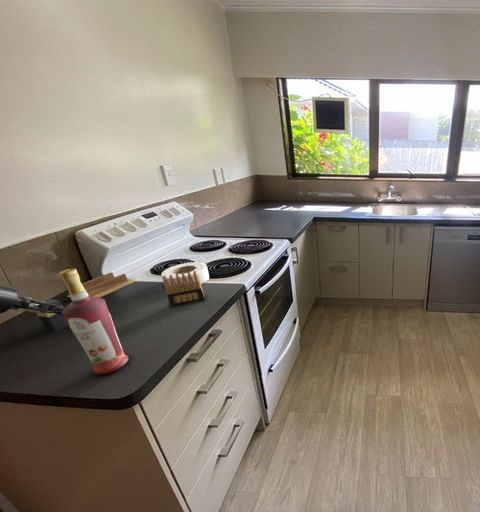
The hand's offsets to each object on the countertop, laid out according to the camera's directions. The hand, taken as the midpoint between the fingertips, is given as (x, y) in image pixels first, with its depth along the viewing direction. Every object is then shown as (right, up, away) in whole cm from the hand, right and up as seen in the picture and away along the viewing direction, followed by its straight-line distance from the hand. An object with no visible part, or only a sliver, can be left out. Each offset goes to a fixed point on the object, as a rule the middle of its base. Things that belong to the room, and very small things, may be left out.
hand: (56, 309), depth 90 cm
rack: (-8, +4, +23) cm, 25 cm away
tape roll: (+21, +6, +30) cm, 37 cm away
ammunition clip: (+32, 0, +15) cm, 35 cm away
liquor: (+32, -12, -15) cm, 37 cm away
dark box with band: (0, -6, +1) cm, 6 cm away
